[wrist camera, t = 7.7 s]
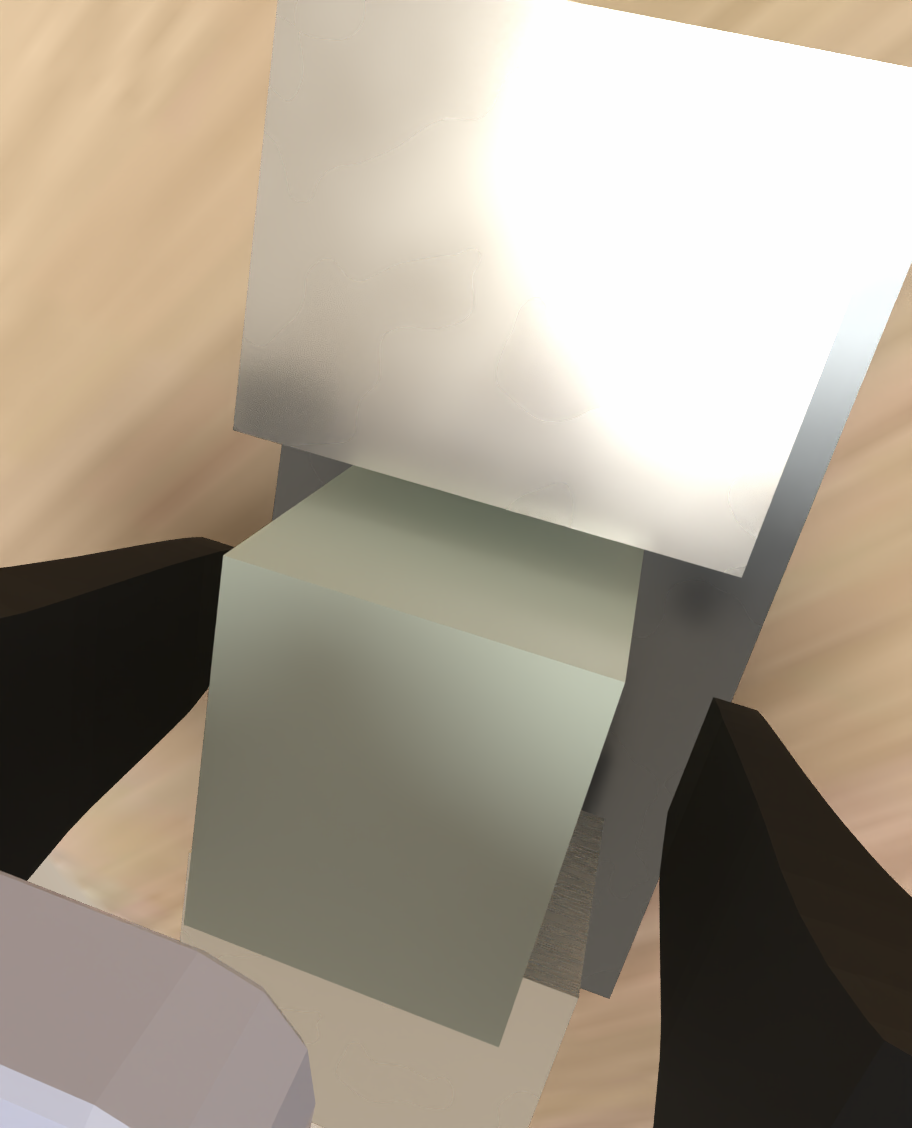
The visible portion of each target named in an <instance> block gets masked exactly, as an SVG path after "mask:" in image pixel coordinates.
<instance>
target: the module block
mask: <svg viewBox="0 0 912 1128" xmlns="http://www.w3.org/2000/svg"><path fill="white" fill-rule="evenodd" d="M643 554H644V549H641V548H638V547H634V546H631V545H627V544H624V543H620V542H617V541H613V540H610V539H607V538H603V537H600V536H596V535H593V534H589V533H586V532H582V531H579V530H575V529H572V528H569V527H565V526H562V525H558V524H555V523H551V522H548V521H544V520H541V519H538V518H534V517H531V516H527V515H524V514H520V513H517V512H513V511H510V510H507V509H503V508H500V507H496V506H493V505H489V504H486V503H482V502H479V501H476V500H472V499H469V498H465V497H462V496H458V495H455V494H451V493H448V492H444V491H441V490H438V489H434V488H431V487H427V486H424V485H420V484H417V483H413V482H410V481H407V480H403V479H400V478H396V477H393V476H389V475H386V474H382V473H379V472H376V471H372V470H369V469H365V468H362V467H358V466H355V465H353V466H351V467H350V468H348V469H347V470H346V471H344V472H343V473H341V474H340V475H338V476H337V477H335V478H334V479H333V480H331V481H330V482H328V483H327V484H325V485H324V486H322V487H321V488H320V489H318V490H317V491H315V492H314V493H312V494H311V495H309V496H308V497H307V498H305V499H304V500H302V501H301V502H299V503H298V504H297V505H295V506H294V507H292V508H291V509H289V510H288V511H286V512H285V513H284V514H282V515H281V516H279V517H278V518H276V519H275V520H273V521H272V522H271V523H269V524H268V525H266V526H265V527H263V528H262V529H260V530H259V531H258V532H256V533H255V534H253V535H252V536H250V537H249V538H247V539H246V540H245V541H243V542H242V543H240V544H239V545H237V546H236V547H235V548H233V549H232V550H230V551H229V552H227V553H226V554H224V555H223V562H222V572H221V581H220V590H219V600H218V609H217V619H216V628H215V637H214V647H213V656H212V665H211V675H210V684H209V693H208V703H207V712H206V721H205V731H204V740H203V749H202V759H201V768H200V777H199V787H198V796H197V805H196V815H195V824H194V833H193V843H192V852H191V861H190V871H189V880H188V889H187V899H186V908H185V917H184V925H186V926H189V927H191V928H194V929H196V930H199V931H202V932H204V933H207V934H209V935H212V936H214V937H217V938H219V939H222V940H225V941H227V942H230V943H232V944H235V945H237V946H240V947H243V948H245V949H248V950H250V951H253V952H255V953H258V954H260V955H263V956H266V957H268V958H271V959H273V960H276V961H278V962H281V963H284V964H286V965H289V966H291V967H294V968H296V969H299V970H301V971H304V972H307V973H309V974H312V975H314V976H317V977H319V978H322V979H324V980H327V981H330V982H332V983H335V984H337V985H340V986H342V987H345V988H348V989H350V990H353V991H355V992H358V993H360V994H363V995H365V996H368V997H371V998H373V999H376V1000H378V1001H381V1002H383V1003H386V1004H389V1005H391V1006H394V1007H396V1008H399V1009H401V1010H404V1011H406V1012H409V1013H412V1014H414V1015H417V1016H419V1017H422V1018H424V1019H427V1020H430V1021H432V1022H435V1023H437V1024H440V1025H442V1026H445V1027H447V1028H450V1029H453V1030H455V1031H458V1032H460V1033H463V1034H465V1035H468V1036H471V1037H473V1038H476V1039H478V1040H481V1041H483V1042H486V1043H488V1044H491V1045H494V1046H496V1047H499V1045H500V1043H501V1040H502V1037H503V1034H504V1031H505V1028H506V1025H507V1022H508V1019H509V1017H510V1014H511V1011H512V1008H513V1005H514V1002H515V999H516V996H517V993H518V991H519V988H520V985H521V982H522V979H523V976H524V973H525V970H526V967H527V965H528V962H529V959H530V956H531V953H532V950H533V947H534V944H535V941H536V939H537V936H538V933H539V930H540V927H541V924H542V921H543V918H544V915H545V913H546V910H547V907H548V904H549V901H550V898H551V895H552V892H553V889H554V887H555V884H556V881H557V878H558V875H559V872H560V869H561V866H562V863H563V861H564V858H565V855H566V852H567V849H568V846H569V843H570V840H571V837H572V835H573V832H574V829H575V826H576V823H577V820H578V817H579V814H580V811H581V809H582V806H583V803H584V800H585V797H586V794H587V791H588V788H589V785H590V783H591V780H592V777H593V774H594V771H595V768H596V765H597V762H598V759H599V757H600V754H601V751H602V748H603V745H604V742H605V739H606V736H607V733H608V731H609V728H610V725H611V722H612V719H613V716H614V713H615V710H616V707H617V705H618V702H619V699H620V696H621V693H622V690H623V687H624V684H625V680H626V673H627V666H628V659H629V652H630V645H631V638H632V631H633V624H634V617H635V610H636V603H637V596H638V589H639V582H640V575H641V568H642V561H643Z"/></svg>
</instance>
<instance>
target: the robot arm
mask: <svg viewBox="0 0 912 1128" xmlns="http://www.w3.org/2000/svg"><path fill="white" fill-rule="evenodd" d="M233 548H235V547H232V546H229V545H226V544H223V543H219V542H216V541H213V540H210V539H207V538H203V537H196V538H182V539H175V540H168V541H161V542H156V543H150V544H144V545H139V546H133V547H128V548H122V549H117V550H111V551H106V552H100V553H95V554H89V555H84V556H78V557H72V558H65V559H59V560H52V561H45V562H39V563H32V564H26V565H19V566H12V567H4V568H0V1128H310V1127H311V1122H312V1117H313V1113H314V1108H315V1104H316V1103H315V1096H314V1090H313V1083H312V1076H311V1069H310V1062H309V1056H308V1049H307V1047H306V1045H305V1044H304V1042H303V1040H302V1038H301V1036H300V1035H299V1034H298V1032H297V1031H296V1030H295V1028H294V1027H293V1026H292V1024H291V1023H290V1022H289V1020H288V1019H287V1018H286V1017H285V1015H284V1014H283V1013H282V1011H281V1010H280V1009H279V1007H278V1006H277V1005H276V1003H275V1002H274V1001H273V999H272V998H271V997H270V996H269V994H268V993H267V992H266V990H265V989H264V988H263V987H262V986H261V985H259V984H257V983H256V982H254V981H253V980H251V979H249V978H248V977H246V976H245V975H243V974H241V973H240V972H238V971H236V970H235V969H233V968H232V967H230V966H228V965H227V964H225V963H223V962H222V961H220V960H219V959H217V958H215V957H214V956H212V955H211V954H209V953H207V952H206V951H204V950H201V949H198V948H196V947H193V946H191V945H188V944H186V943H183V942H181V941H178V940H176V939H173V938H171V937H168V936H165V935H163V934H160V933H158V932H155V931H153V930H150V929H148V928H145V927H142V926H140V925H137V924H135V923H132V922H130V921H127V920H125V919H122V918H120V917H117V916H114V915H112V914H109V913H107V912H104V911H102V910H99V909H97V908H94V907H92V906H89V905H86V904H84V903H81V902H79V901H76V900H74V899H71V898H69V897H66V896H63V895H61V894H58V893H56V892H53V891H51V890H48V889H46V888H43V887H41V886H38V885H35V884H33V883H30V882H28V881H27V880H28V879H29V878H30V877H31V875H32V874H33V873H34V872H35V871H36V869H37V868H38V867H39V866H40V865H41V863H42V862H43V861H44V860H45V859H46V857H47V856H48V855H49V854H50V853H51V851H52V850H53V849H54V848H55V847H56V845H57V844H58V843H59V842H60V841H61V839H62V838H63V837H64V836H65V835H66V833H67V832H68V831H69V830H70V829H71V828H72V827H73V826H74V825H75V824H76V823H77V822H78V821H79V820H80V818H81V817H82V816H83V815H84V814H85V813H86V812H87V811H88V810H89V809H90V808H91V807H92V806H93V805H94V804H95V803H96V802H97V801H98V800H99V799H100V798H101V797H102V796H103V795H104V794H106V793H107V792H108V791H109V790H110V789H111V788H112V787H113V786H114V785H115V784H116V783H117V782H118V781H119V780H120V779H121V778H122V777H123V776H124V775H125V774H126V773H127V772H128V771H129V770H130V769H131V768H132V767H134V766H135V765H136V764H137V763H138V762H139V761H140V760H141V759H142V758H143V757H144V756H145V755H146V754H147V753H148V752H149V751H150V750H151V749H152V748H153V747H154V746H155V745H156V744H157V743H158V742H159V741H160V740H161V739H162V738H163V737H164V736H165V735H166V734H168V733H169V732H170V731H171V730H172V729H173V728H174V727H175V726H176V725H177V724H178V723H179V722H180V721H181V720H182V719H183V718H184V717H185V716H186V715H187V714H188V713H189V712H190V710H191V709H192V708H193V707H194V705H195V704H196V703H197V702H198V700H199V699H200V698H201V696H202V695H203V694H204V693H205V691H206V690H207V689H208V687H209V684H210V675H211V665H212V656H213V647H214V637H215V628H216V619H217V609H218V600H219V590H220V581H221V572H222V562H223V555H224V554H226V553H227V552H229V551H230V550H232V549H233ZM659 893H660V978H661V1041H660V1062H659V1072H658V1083H657V1094H656V1104H655V1115H654V1126H653V1128H912V897H911V896H910V895H909V894H908V893H907V892H906V891H905V890H904V889H903V888H902V887H901V886H900V885H899V884H898V883H897V882H896V881H895V880H894V879H893V878H892V877H891V876H890V875H889V874H888V873H887V872H886V871H885V870H884V869H883V868H882V867H881V866H880V865H879V864H878V863H877V861H876V860H875V859H874V858H873V857H872V856H871V855H870V854H869V852H868V851H867V850H866V849H865V848H864V847H863V845H862V844H861V843H860V842H859V841H858V840H857V839H856V837H855V836H854V835H853V834H852V833H851V832H850V830H849V829H848V828H847V827H846V826H845V825H844V823H843V822H842V821H841V820H840V818H839V817H838V816H837V815H836V814H835V812H834V811H833V810H832V809H831V807H830V806H829V805H828V804H827V802H826V801H825V800H824V798H823V797H822V796H821V795H820V793H819V792H818V791H817V789H816V788H815V787H814V785H813V784H812V783H811V781H810V780H809V779H808V777H807V776H806V775H805V773H804V772H803V771H802V769H801V768H800V767H799V765H798V764H797V762H796V761H795V760H794V758H793V757H792V756H791V754H790V753H789V751H788V750H787V749H786V747H785V746H784V744H783V743H782V742H781V740H780V739H779V738H778V736H777V735H776V733H775V732H774V731H773V729H772V728H771V727H770V725H769V724H768V723H767V721H766V720H765V719H764V717H763V716H762V715H761V714H760V713H759V712H758V711H757V710H754V709H750V708H747V707H744V706H741V705H738V704H734V703H731V702H728V701H725V700H722V699H718V698H715V697H713V699H712V702H711V704H710V707H709V709H708V712H707V714H706V717H705V719H704V722H703V724H702V727H701V729H700V732H699V734H698V737H697V739H696V742H695V744H694V747H693V749H692V752H691V754H690V757H689V759H688V762H687V764H686V767H685V769H684V772H683V774H682V777H681V779H680V782H679V784H678V787H677V789H676V792H675V794H674V797H673V799H672V802H671V805H670V807H669V810H668V812H667V819H666V826H665V834H664V841H663V849H662V857H661V866H660V881H659Z"/></svg>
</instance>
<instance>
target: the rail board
mask: <svg viewBox="0 0 912 1128" xmlns="http://www.w3.org/2000/svg"><path fill="white" fill-rule="evenodd" d="M911 262H912V68H909V67H904V66H899V65H894V64H889V63H883V62H878V61H873V60H868V59H863V58H858V57H853V56H847V55H842V54H837V53H832V52H827V51H822V50H817V49H812V48H806V47H801V46H796V45H791V44H786V43H781V42H776V41H770V40H765V39H760V38H755V37H750V36H745V35H740V34H734V33H729V32H724V31H719V30H714V29H709V28H704V27H698V26H693V25H688V24H683V23H678V22H673V21H668V20H663V19H657V18H652V17H647V16H642V15H637V14H632V13H627V12H621V11H616V10H611V9H606V8H601V7H596V6H591V5H585V4H580V3H575V2H570V1H565V0H278V3H277V12H276V22H275V32H274V41H273V51H272V60H271V70H270V80H269V89H268V99H267V109H266V118H265V128H264V137H263V147H262V157H261V166H260V176H259V185H258V195H257V205H256V214H255V224H254V234H253V243H252V253H251V262H250V272H249V282H248V291H247V301H246V311H245V320H244V330H243V339H242V349H241V359H240V368H239V378H238V387H237V397H236V407H235V416H234V426H233V430H234V431H238V432H241V433H245V434H248V435H251V436H255V437H258V438H262V439H265V440H269V441H272V442H276V443H279V444H282V448H281V456H280V464H279V471H278V479H277V487H276V495H275V502H274V510H273V518H272V521H273V520H275V519H276V518H278V517H279V516H281V515H282V514H284V513H285V512H286V511H288V510H289V509H291V508H292V507H294V506H295V505H297V504H298V503H299V502H301V501H302V500H304V499H305V498H307V497H308V496H309V495H311V494H312V493H314V492H315V491H317V490H318V489H320V488H321V487H322V486H324V485H325V484H327V483H328V482H330V481H331V480H333V479H334V478H335V477H337V476H338V475H340V474H341V473H343V472H344V471H346V470H347V469H348V468H350V467H351V466H353V465H355V466H358V467H362V468H365V469H369V470H372V471H376V472H379V473H382V474H386V475H389V476H393V477H396V478H400V479H403V480H407V481H410V482H413V483H417V484H420V485H424V486H427V487H431V488H434V489H438V490H441V491H444V492H448V493H451V494H455V495H458V496H462V497H465V498H469V499H472V500H476V501H479V502H482V503H486V504H489V505H493V506H496V507H500V508H503V509H507V510H510V511H513V512H517V513H520V514H524V515H527V516H531V517H534V518H538V519H541V520H544V521H548V522H551V523H555V524H558V525H562V526H565V527H569V528H572V529H575V530H579V531H582V532H586V533H589V534H593V535H596V536H600V537H603V538H607V539H610V540H613V541H617V542H620V543H624V544H627V545H631V546H634V547H638V548H641V549H644V554H643V561H642V568H641V575H640V582H639V589H638V596H637V603H636V610H635V617H634V624H633V631H632V638H631V645H630V652H629V659H628V666H627V673H626V680H625V684H624V687H623V690H622V693H621V696H620V699H619V702H618V705H617V707H616V710H615V713H614V716H613V719H612V722H611V725H610V728H609V731H608V733H607V736H606V739H605V742H604V745H603V748H602V751H601V754H600V757H599V759H598V762H597V765H596V768H595V771H594V774H593V777H592V780H591V783H590V785H589V788H588V791H587V794H586V797H585V800H584V803H583V806H582V809H581V811H580V814H579V817H578V820H577V823H576V826H575V829H574V832H573V835H572V837H571V840H570V843H569V846H568V849H567V852H566V855H565V858H564V861H563V863H562V866H561V869H560V872H559V875H558V878H557V881H556V884H555V887H554V889H553V892H552V895H551V898H550V901H549V904H548V907H547V910H546V913H545V915H544V918H543V921H542V924H541V927H540V930H539V933H538V936H537V939H536V941H535V944H534V947H533V950H532V953H531V956H530V959H529V962H528V965H527V967H526V970H525V973H524V976H523V979H522V982H521V985H520V988H519V991H518V993H517V996H516V999H515V1002H514V1005H513V1008H512V1011H511V1014H510V1017H509V1019H508V1022H507V1025H506V1028H505V1031H504V1034H503V1037H502V1040H501V1043H500V1045H499V1047H496V1046H494V1045H491V1044H488V1043H486V1042H483V1041H481V1040H478V1039H476V1038H473V1037H471V1036H468V1035H465V1034H463V1033H460V1032H458V1031H455V1030H453V1029H450V1028H447V1027H445V1026H442V1025H440V1024H437V1023H435V1022H432V1021H430V1020H427V1019H424V1018H422V1017H419V1016H417V1015H414V1014H412V1013H409V1012H406V1011H404V1010H401V1009H399V1008H396V1007H394V1006H391V1005H389V1004H386V1003H383V1002H381V1001H378V1000H376V999H373V998H371V997H368V996H365V995H363V994H360V993H358V992H355V991H353V990H350V989H348V988H345V987H342V986H340V985H337V984H335V983H332V982H330V981H327V980H324V979H322V978H319V977H317V976H314V975H312V974H309V973H307V972H304V971H301V970H299V969H296V968H294V967H291V966H289V965H286V964H284V963H281V962H278V961H276V960H273V959H271V958H268V957H266V956H263V955H260V954H258V953H255V952H253V951H250V950H248V949H245V948H243V947H240V946H237V945H235V944H232V943H230V942H227V941H225V940H222V939H219V938H217V937H214V936H212V935H209V934H207V933H204V932H202V931H199V930H196V929H194V928H191V927H189V926H186V925H184V917H185V908H186V899H187V889H188V880H189V871H190V861H191V852H192V850H191V851H190V852H189V859H188V868H187V878H186V888H185V897H184V907H183V917H182V926H181V936H180V941H181V942H183V943H186V944H188V945H191V946H193V947H196V948H198V949H201V950H204V951H206V952H207V953H209V954H211V955H212V956H214V957H215V958H217V959H219V960H220V961H222V962H223V963H225V964H227V965H228V966H230V967H232V968H233V969H235V970H236V971H238V972H240V973H241V974H243V975H245V976H246V977H248V978H249V979H251V980H253V981H254V982H256V983H257V984H259V985H261V986H262V987H263V988H264V989H265V990H266V992H267V993H268V994H269V996H270V997H271V998H272V999H273V1001H274V1002H275V1003H276V1005H277V1006H278V1007H279V1009H280V1010H281V1011H282V1013H283V1014H284V1015H285V1017H286V1018H287V1019H288V1020H289V1022H290V1023H291V1024H292V1026H293V1027H294V1028H295V1030H296V1031H297V1032H298V1034H299V1035H300V1036H301V1038H302V1040H303V1042H304V1044H305V1045H306V1047H307V1049H308V1056H309V1062H310V1069H311V1076H312V1083H313V1090H314V1096H315V1103H316V1104H315V1108H314V1113H313V1117H312V1123H315V1124H317V1125H319V1126H322V1127H324V1128H528V1127H529V1124H530V1122H531V1119H532V1117H533V1114H534V1111H535V1109H536V1106H537V1104H538V1101H539V1099H540V1096H541V1093H542V1091H543V1088H544V1086H545V1083H546V1080H547V1078H548V1075H549V1073H550V1070H551V1068H552V1065H553V1062H554V1060H555V1057H556V1055H557V1052H558V1050H559V1047H560V1044H561V1042H562V1039H563V1037H564V1034H565V1032H566V1029H567V1026H568V1024H569V1021H570V1019H571V1016H572V1013H573V1011H574V1008H575V1006H576V1003H577V1001H578V998H579V991H580V988H582V989H584V990H587V991H590V992H592V993H595V994H598V995H600V996H603V997H606V998H609V999H610V996H611V994H612V992H613V989H614V987H615V984H616V982H617V979H618V977H619V974H620V972H621V970H622V967H623V965H624V962H625V960H626V957H627V955H628V952H629V950H630V948H631V945H632V943H633V940H634V938H635V935H636V933H637V931H638V928H639V926H640V923H641V921H642V918H643V916H644V913H645V911H646V909H647V906H648V904H649V901H650V899H651V896H652V894H653V892H654V889H655V887H656V884H657V882H658V879H659V877H660V866H661V857H662V849H663V841H664V834H665V826H666V819H667V812H668V810H669V807H670V805H671V802H672V799H673V797H674V794H675V792H676V789H677V787H678V784H679V782H680V779H681V777H682V774H683V772H684V769H685V767H686V764H687V762H688V759H689V757H690V754H691V752H692V749H693V747H694V744H695V742H696V739H697V737H698V734H699V732H700V729H701V727H702V724H703V722H704V719H705V717H706V714H707V712H708V709H709V707H710V704H711V702H712V699H713V697H715V698H718V699H722V700H725V701H728V702H731V701H732V699H733V696H734V694H735V691H736V689H737V687H738V684H739V682H740V679H741V677H742V674H743V672H744V670H745V667H746V665H747V662H748V660H749V657H750V655H751V652H752V650H753V648H754V645H755V643H756V640H757V638H758V635H759V633H760V631H761V628H762V626H763V623H764V621H765V618H766V616H767V613H768V611H769V609H770V606H771V604H772V601H773V599H774V596H775V594H776V591H777V589H778V587H779V584H780V582H781V579H782V577H783V574H784V572H785V570H786V567H787V565H788V562H789V560H790V557H791V555H792V552H793V550H794V548H795V545H796V543H797V540H798V538H799V535H800V533H801V531H802V528H803V526H804V523H805V521H806V518H807V516H808V513H809V511H810V509H811V506H812V504H813V501H814V499H815V496H816V494H817V491H818V489H819V487H820V484H821V482H822V479H823V477H824V474H825V472H826V470H827V467H828V465H829V462H830V460H831V457H832V455H833V452H834V450H835V448H836V445H837V443H838V440H839V438H840V435H841V433H842V431H843V428H844V426H845V423H846V421H847V418H848V416H849V413H850V411H851V409H852V406H853V404H854V401H855V399H856V396H857V394H858V391H859V389H860V387H861V384H862V382H863V379H864V377H865V374H866V372H867V370H868V367H869V365H870V362H871V360H872V357H873V355H874V352H875V350H876V348H877V345H878V343H879V340H880V338H881V335H882V333H883V330H884V328H885V326H886V323H887V321H888V318H889V316H890V313H891V311H892V309H893V306H894V304H895V301H896V299H897V296H898V294H899V291H900V289H901V287H902V284H903V282H904V279H905V277H906V274H907V272H908V270H909V267H910V265H911Z"/></svg>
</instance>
